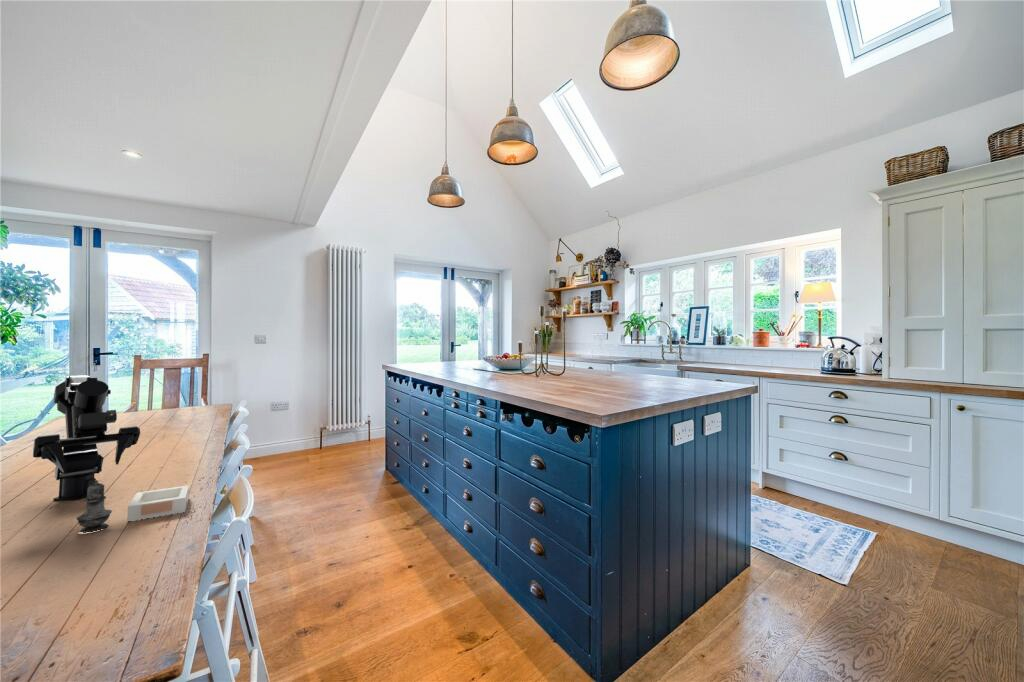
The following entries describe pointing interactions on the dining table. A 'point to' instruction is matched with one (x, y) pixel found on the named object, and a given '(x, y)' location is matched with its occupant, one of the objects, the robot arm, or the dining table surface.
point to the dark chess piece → (94, 510)
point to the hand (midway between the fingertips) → (92, 467)
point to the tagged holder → (158, 503)
